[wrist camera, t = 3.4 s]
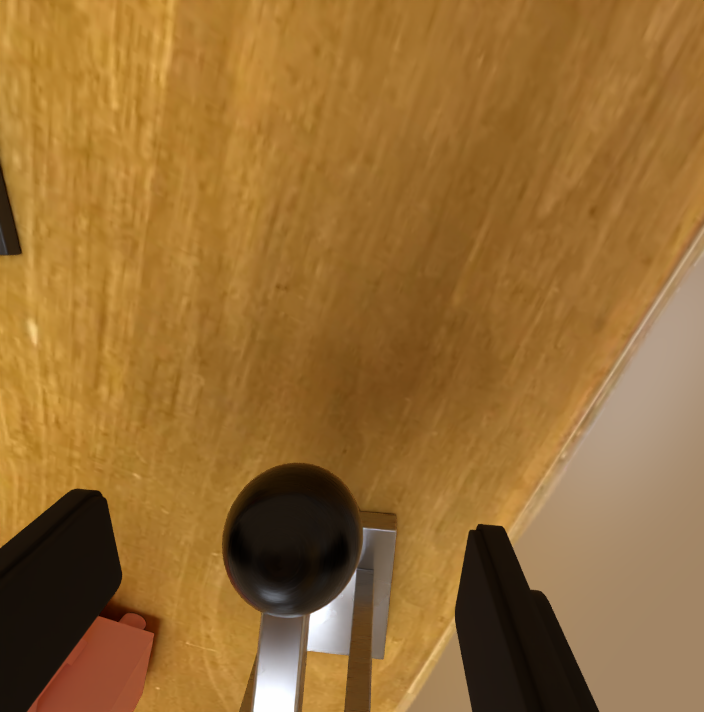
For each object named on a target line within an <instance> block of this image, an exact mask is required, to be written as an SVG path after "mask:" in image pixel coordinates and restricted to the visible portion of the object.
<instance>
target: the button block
mask: <svg viewBox="0 0 704 712" xmlns="http://www.w3.org/2000/svg"><path fill="white" fill-rule="evenodd" d="M19 254H21V252H20V247H19V243H18V239H17V235H16V231H15V227H14V223H13V219H12V215H11V211H10V207H9V203H8V199H7V195H6V191H5V186H4V182H3V178H2V174H1V170H0V255H19Z"/></svg>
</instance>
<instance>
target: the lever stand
mask: <svg viewBox="0 0 704 712" xmlns="http://www.w3.org/2000/svg"><path fill="white" fill-rule="evenodd" d="M360 515H361V519H362V526H363V545H362V551H361V555H360V559H359V563H358V565H357V568H356V571H355V573H354V575H353V576H352V578H351V580H350V582H349V583H348V584H347V586H346V587H345V589H344V590H343V591H342V592H341V593H340V594H339V595H338V597H337V598H336V599H334V600H333V601H332V602H331V603H329V604H328V605H327V606H325V607H323V608H322V609H320V610H318V611H316V612H314V613H311V614H310V624H309V635H308V646H307V651H315V652H324V653H332V654H341V655H349V661H348V673H347V686H346V698H345V710H344V712H370V703H371V669H372V658H374V659H382V660H383V659H384V651H385V641H386V632H387V622H388V612H389V602H390V592H391V583H392V573H393V563H394V553H395V543H396V533H397V525H396V515H393V514H382V513H371V512H360ZM256 659H257V654H256V658H255V661H254V664H253V668H252V671H251V674H250V678H249V681H248V684H247V688H246V691H245V694H244V698H243V701H242V704H241V707H240V711H239V712H251V704H252V695H253V686H254V677H255V668H256Z"/></svg>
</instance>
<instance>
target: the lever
mask: <svg viewBox="0 0 704 712" xmlns="http://www.w3.org/2000/svg"><path fill="white" fill-rule="evenodd" d="M362 545H363V526H362V519H361V515H360V511H359V508H358V505H357V503H356V500H355V499H354V497H353V495H352V493H351V492H350V490H349V489H348V487H347V486H346V485H345V484H344V483H343V482H342V481H341V480H340V479H339V478H338V477H337V476H335V475H334V474H333V473H331V472H329V471H328V470H326V469H324V468H322V467H319V466H316V465H313V464H307V463H288V464H283V465H279V466H275V467H273V468H271V469H268V470H266V471H265V472H263V473H261V474H260V475H258V476H257V477H255V478H254V479H253V480H252V481H250V482H249V483H248V484H247V485H246V486H245V487H244V489H243V490H242V491H241V492H240V494H239V495H238V496H237V498H236V500H235V501H234V503H233V504H232V506H231V509H230V511H229V513H228V516H227V519H226V522H225V526H224V531H223V539H222V554H223V560H224V565H225V569H226V572H227V575H228V577H229V579H230V581H231V583H232V585H233V587H234V588H235V590H236V591H237V593H238V594H239V595H240V596H241V598H242V599H244V600H245V601H246V602H247V603H248V604H249V605H250V606H252V607H253V608H255V609H256V610H258V611H260V612H262V613H261V623H260V632H259V641H258V650H257V659H256V668H255V677H254V686H253V695H252V704H251V712H302V703H303V692H304V680H305V669H306V658H307V646H308V635H309V624H310V614H311V613H314V612H316V611H318V610H320V609H322V608H323V607H325V606H327V605H328V604H329V603H331V602H332V601H333V600H334V599H336V598H337V597H338V595H339V594H340V593H341V592H342V591H343V590H344V589H345V587H346V586H347V584H348V583H349V582H350V580H351V578H352V576H353V575H354V573H355V571H356V568H357V565H358V563H359V559H360V555H361V551H362Z"/></svg>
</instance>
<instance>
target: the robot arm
mask: <svg viewBox="0 0 704 712" xmlns="http://www.w3.org/2000/svg"><path fill="white" fill-rule="evenodd" d="M121 580H122V571H121V566H120V561H119V557H118V552H117V547H116V542H115V537H114V533H113V528H112V523H111V518H110V514H109V509H108V504H107V500H106V499H105V498H104V497H103V496H102V494H101V492H99V491H96V490H86V489H73V490H71V491H69V492H68V493H67V494H65V495H64V496H63V497H62V498H61V499H59V500H58V501H57V502H56V503H55V504H53V505H52V506H51V507H50V508H48V509H47V510H46V511H45V512H44V513H42V514H41V515H40V516H39V517H38V518H36V519H35V520H34V521H33V522H32V523H30V524H29V525H28V526H27V527H25V528H24V529H23V530H22V531H21V532H19V533H18V534H17V535H16V536H15V537H13V538H12V539H11V540H10V541H8V542H7V543H6V544H5V545H4V546H2V547H1V548H0V712H27V711H28V710H29V708H30V707H31V706H32V704H33V703H34V702H35V700H36V699H37V698H38V696H39V695H40V694H41V692H42V691H43V690H44V688H45V687H46V685H47V684H48V683H49V681H50V680H51V679H52V677H53V676H54V675H55V673H56V672H57V671H58V669H59V668H60V667H61V665H62V664H63V663H64V661H65V660H66V659H67V657H68V656H69V654H70V653H71V652H72V650H73V649H74V648H75V646H76V645H77V644H78V642H79V641H80V640H81V638H82V637H83V636H84V634H85V633H86V632H87V630H88V629H89V627H90V626H91V625H92V623H93V622H94V621H95V619H96V618H97V617H98V615H99V614H100V613H101V611H102V610H103V609H104V607H105V606H106V605H107V603H108V602H109V601H110V599H111V598H112V596H113V595H114V594H115V592H116V591H117V589H118V588H119V586H120V583H121ZM455 623H456V629H457V634H458V639H459V644H460V650H461V655H462V660H463V665H464V670H465V676H466V681H467V686H468V692H469V696H470V702H471V707H472V712H599V710H598V708H597V706H596V703H595V701H594V699H593V697H592V695H591V692H590V690H589V688H588V686H587V684H586V682H585V679H584V677H583V675H582V673H581V671H580V668H579V666H578V664H577V662H576V660H575V657H574V655H573V653H572V651H571V649H570V647H569V645H568V642H567V640H566V638H565V636H564V633H563V631H562V629H561V627H560V625H559V622H558V620H557V618H556V616H555V614H554V611H553V609H552V607H551V605H550V603H549V601H548V599H547V598H546V596H545V595H544V594H543V593H542V592H541V591H538V590H530V588H529V586H528V583H527V581H526V579H525V576H524V574H523V571H522V569H521V567H520V564H519V562H518V559H517V557H516V555H515V552H514V550H513V547H512V545H511V543H510V540H509V538H508V536H507V533H506V531H505V529H504V528H503V527H502V526H495V525H483V524H478V526H477V528H476V530H470V531H469V534H468V540H467V545H466V551H465V556H464V562H463V567H462V573H461V579H460V584H459V590H458V595H457V601H456V606H455Z"/></svg>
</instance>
